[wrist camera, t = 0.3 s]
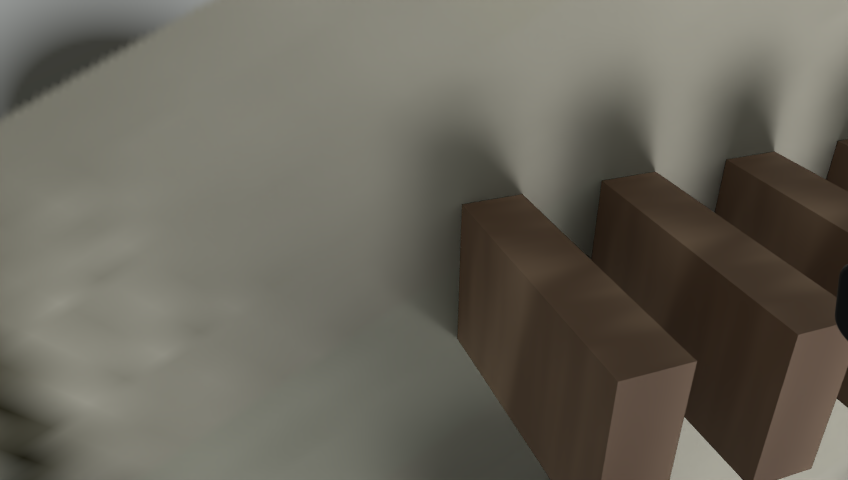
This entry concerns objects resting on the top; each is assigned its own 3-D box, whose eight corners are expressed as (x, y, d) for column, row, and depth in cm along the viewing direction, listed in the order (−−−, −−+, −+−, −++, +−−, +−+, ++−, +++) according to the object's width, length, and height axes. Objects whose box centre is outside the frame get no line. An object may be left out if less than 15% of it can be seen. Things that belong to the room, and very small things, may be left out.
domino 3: (774, 151, 27) (1010, 279, 20) (743, 274, 29) (942, 425, 22) (726, 159, 26) (952, 294, 19) (698, 284, 29) (890, 442, 22)
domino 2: (655, 171, 25) (865, 317, 19) (633, 298, 28) (810, 468, 21) (601, 180, 25) (798, 334, 18) (584, 309, 27) (750, 487, 20)
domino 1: (522, 194, 24) (697, 361, 17) (512, 326, 26) (660, 517, 20) (462, 204, 23) (617, 382, 16) (457, 338, 26) (590, 540, 19)
